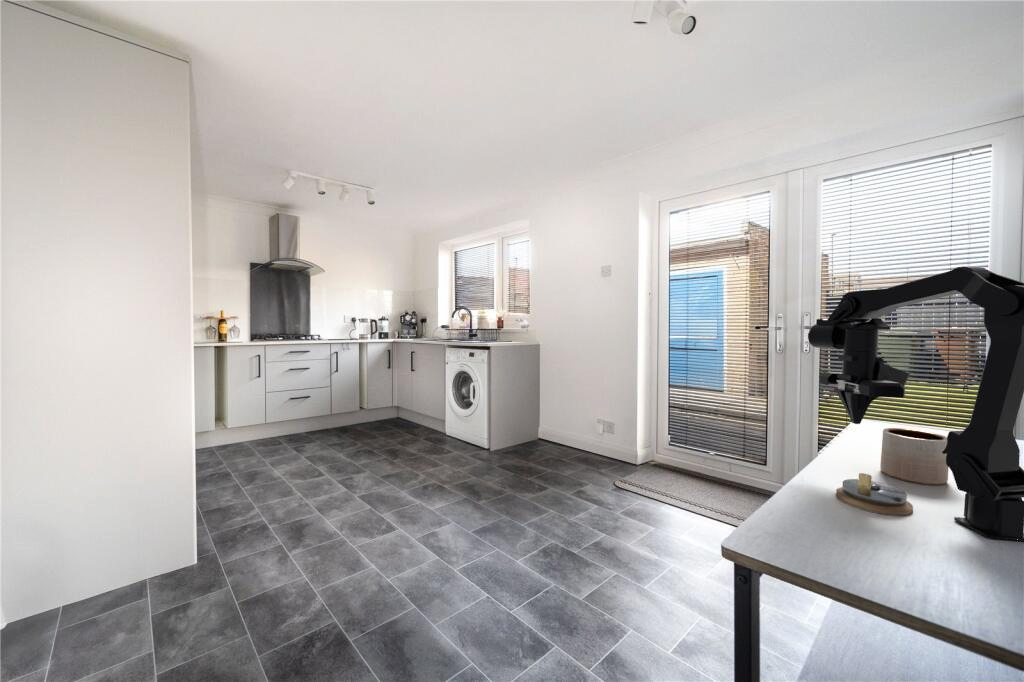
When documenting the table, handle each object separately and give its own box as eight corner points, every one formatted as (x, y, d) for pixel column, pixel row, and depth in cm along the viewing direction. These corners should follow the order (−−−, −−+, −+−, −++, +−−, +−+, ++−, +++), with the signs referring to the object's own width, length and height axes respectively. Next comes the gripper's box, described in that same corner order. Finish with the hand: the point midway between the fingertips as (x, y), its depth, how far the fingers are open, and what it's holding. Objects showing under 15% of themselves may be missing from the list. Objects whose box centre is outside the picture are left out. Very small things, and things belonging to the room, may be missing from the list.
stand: (929, 518, 74) (930, 507, 74) (858, 512, 76) (859, 502, 76) (884, 492, 86) (885, 483, 85) (823, 488, 87) (824, 479, 87)
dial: (880, 487, 85) (882, 462, 85) (920, 507, 76) (922, 479, 75) (830, 484, 86) (831, 460, 85) (863, 504, 77) (865, 477, 76)
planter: (918, 469, 100) (921, 428, 99) (962, 487, 89) (966, 441, 88) (868, 467, 101) (870, 426, 100) (905, 485, 90) (908, 439, 89)
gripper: (939, 355, 81) (934, 437, 82) (873, 349, 100) (869, 415, 100) (873, 354, 83) (868, 434, 84) (819, 347, 101) (816, 413, 102)
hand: (856, 423), depth 92 cm, fingers closed
